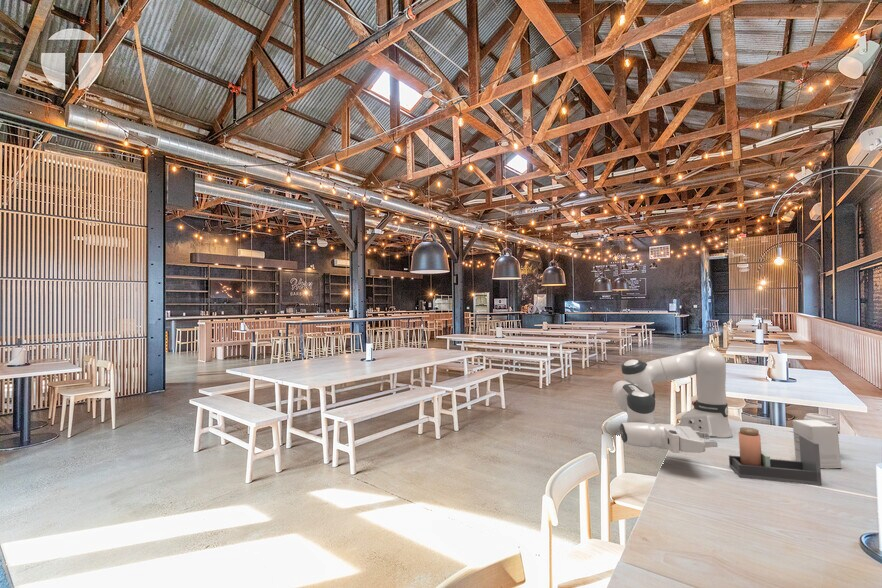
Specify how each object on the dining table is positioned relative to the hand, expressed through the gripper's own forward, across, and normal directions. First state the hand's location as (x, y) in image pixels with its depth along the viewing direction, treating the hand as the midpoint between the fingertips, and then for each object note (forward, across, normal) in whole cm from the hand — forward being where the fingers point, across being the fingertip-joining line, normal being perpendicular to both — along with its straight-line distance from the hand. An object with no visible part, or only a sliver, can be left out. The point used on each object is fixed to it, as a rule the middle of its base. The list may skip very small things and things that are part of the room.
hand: (712, 439), depth 142 cm
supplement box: (+36, -17, -11) cm, 42 cm away
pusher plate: (+15, 0, -9) cm, 17 cm away
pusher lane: (+17, 0, -10) cm, 20 cm away
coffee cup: (+44, -29, -11) cm, 53 cm away
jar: (+11, 0, -9) cm, 15 cm away
